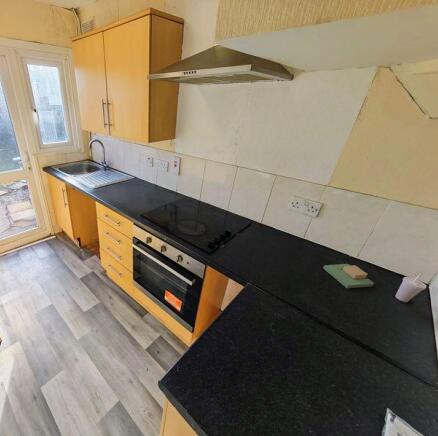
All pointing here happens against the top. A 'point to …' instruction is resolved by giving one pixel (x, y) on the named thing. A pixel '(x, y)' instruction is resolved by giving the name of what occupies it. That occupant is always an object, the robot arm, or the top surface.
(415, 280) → the smoothie
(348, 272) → the tan block
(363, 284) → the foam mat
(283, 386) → the top surface
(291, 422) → the top surface
